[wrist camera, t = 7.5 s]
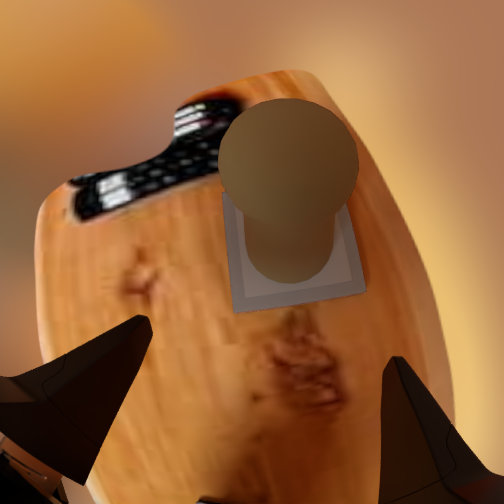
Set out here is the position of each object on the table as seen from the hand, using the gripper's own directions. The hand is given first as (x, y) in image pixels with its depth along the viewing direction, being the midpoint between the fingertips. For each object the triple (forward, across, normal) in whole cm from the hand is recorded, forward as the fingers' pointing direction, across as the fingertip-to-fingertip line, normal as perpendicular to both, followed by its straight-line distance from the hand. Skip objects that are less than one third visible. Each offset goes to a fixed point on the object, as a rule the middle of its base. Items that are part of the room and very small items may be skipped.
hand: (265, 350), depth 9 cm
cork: (+11, 0, +1) cm, 11 cm away
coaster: (+12, 0, +2) cm, 12 cm away
